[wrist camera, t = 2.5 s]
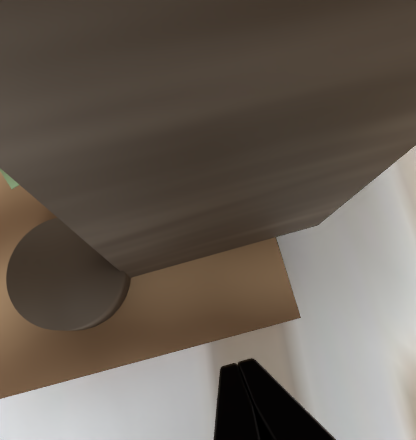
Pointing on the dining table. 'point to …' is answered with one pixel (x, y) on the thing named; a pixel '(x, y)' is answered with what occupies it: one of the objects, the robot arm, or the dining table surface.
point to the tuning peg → (188, 131)
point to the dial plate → (138, 307)
